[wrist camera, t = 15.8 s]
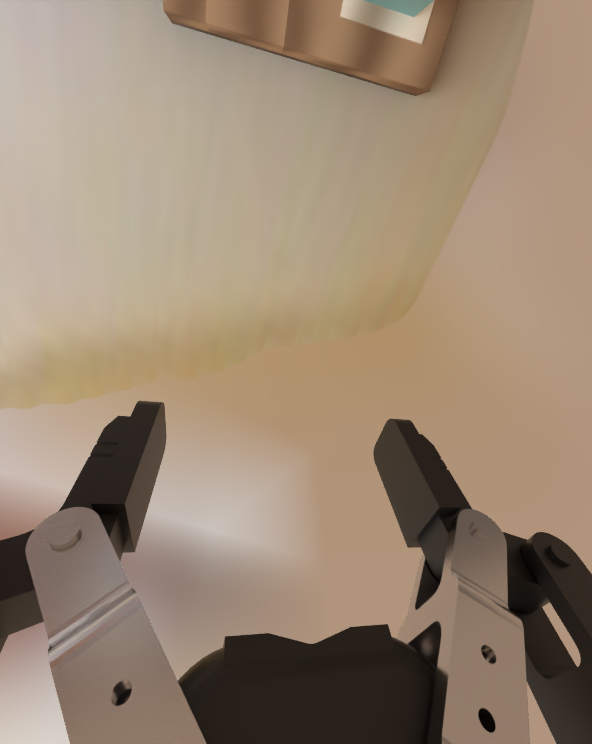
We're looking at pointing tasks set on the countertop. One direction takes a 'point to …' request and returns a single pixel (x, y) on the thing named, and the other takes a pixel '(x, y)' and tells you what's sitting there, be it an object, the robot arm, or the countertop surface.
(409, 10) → the teal block
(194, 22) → the puzzle board
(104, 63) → the countertop surface
